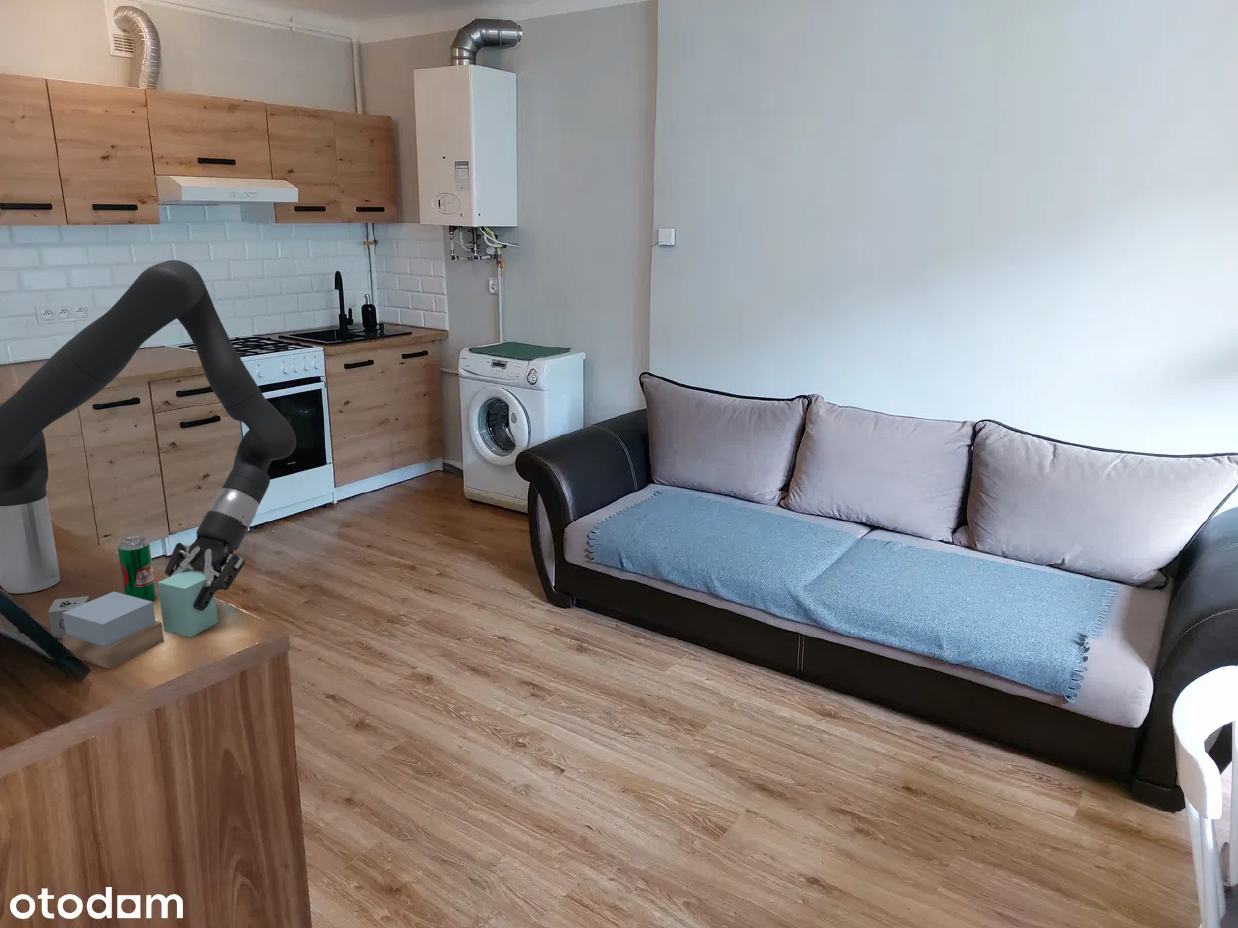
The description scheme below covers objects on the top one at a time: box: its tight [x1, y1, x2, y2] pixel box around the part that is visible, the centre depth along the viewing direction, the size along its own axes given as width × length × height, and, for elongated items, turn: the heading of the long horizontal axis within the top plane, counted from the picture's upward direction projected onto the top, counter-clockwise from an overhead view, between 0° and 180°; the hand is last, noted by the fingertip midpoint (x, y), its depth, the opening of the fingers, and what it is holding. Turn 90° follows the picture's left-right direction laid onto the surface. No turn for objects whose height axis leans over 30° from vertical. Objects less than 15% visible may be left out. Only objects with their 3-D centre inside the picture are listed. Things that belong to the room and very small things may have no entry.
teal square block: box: [157, 570, 219, 638], centre depth 147 cm, size 6×6×9 cm
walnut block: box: [61, 619, 165, 670], centre depth 140 cm, size 10×10×4 cm
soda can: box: [117, 535, 157, 602], centre depth 156 cm, size 5×5×12 cm
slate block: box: [63, 591, 156, 647], centre depth 139 cm, size 9×9×4 cm
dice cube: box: [47, 595, 90, 639], centre depth 145 cm, size 5×5×5 cm
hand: (182, 605), depth 146 cm, fingers closed on teal square block, 6 cm apart
